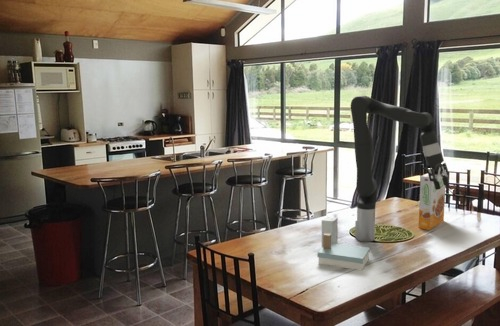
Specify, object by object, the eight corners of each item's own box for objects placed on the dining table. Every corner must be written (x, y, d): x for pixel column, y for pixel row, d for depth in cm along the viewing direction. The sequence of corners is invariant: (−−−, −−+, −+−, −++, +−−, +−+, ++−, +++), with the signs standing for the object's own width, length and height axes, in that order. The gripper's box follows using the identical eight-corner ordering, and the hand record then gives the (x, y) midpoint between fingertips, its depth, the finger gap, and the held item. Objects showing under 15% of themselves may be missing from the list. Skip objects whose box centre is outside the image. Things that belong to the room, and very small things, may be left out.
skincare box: (332, 250, 224) (332, 221, 221) (320, 248, 227) (321, 220, 224) (337, 245, 231) (338, 217, 228) (326, 243, 234) (326, 216, 231)
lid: (317, 257, 206) (317, 238, 205) (327, 246, 220) (327, 229, 219) (362, 263, 198) (363, 244, 196) (369, 252, 212) (370, 234, 210)
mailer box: (318, 263, 207) (318, 254, 207) (327, 253, 220) (327, 244, 219) (362, 270, 199) (362, 260, 198) (368, 259, 211) (369, 250, 211)
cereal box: (429, 229, 254) (432, 177, 249) (418, 227, 258) (420, 176, 254) (443, 220, 271) (446, 171, 266) (432, 219, 275) (435, 170, 270)
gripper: (432, 153, 220) (442, 185, 219) (418, 158, 210) (427, 191, 210) (447, 149, 214) (457, 182, 213) (433, 154, 205) (443, 189, 204)
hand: (442, 187), depth 212 cm, fingers open, 8 cm apart
